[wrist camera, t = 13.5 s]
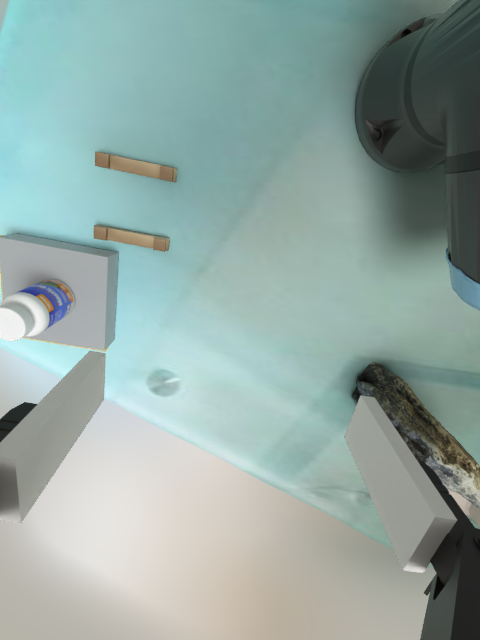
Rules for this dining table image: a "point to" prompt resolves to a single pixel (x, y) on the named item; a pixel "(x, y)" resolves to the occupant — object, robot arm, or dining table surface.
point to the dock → (75, 272)
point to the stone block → (422, 432)
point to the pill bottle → (34, 309)
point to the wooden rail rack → (139, 169)
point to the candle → (466, 507)
